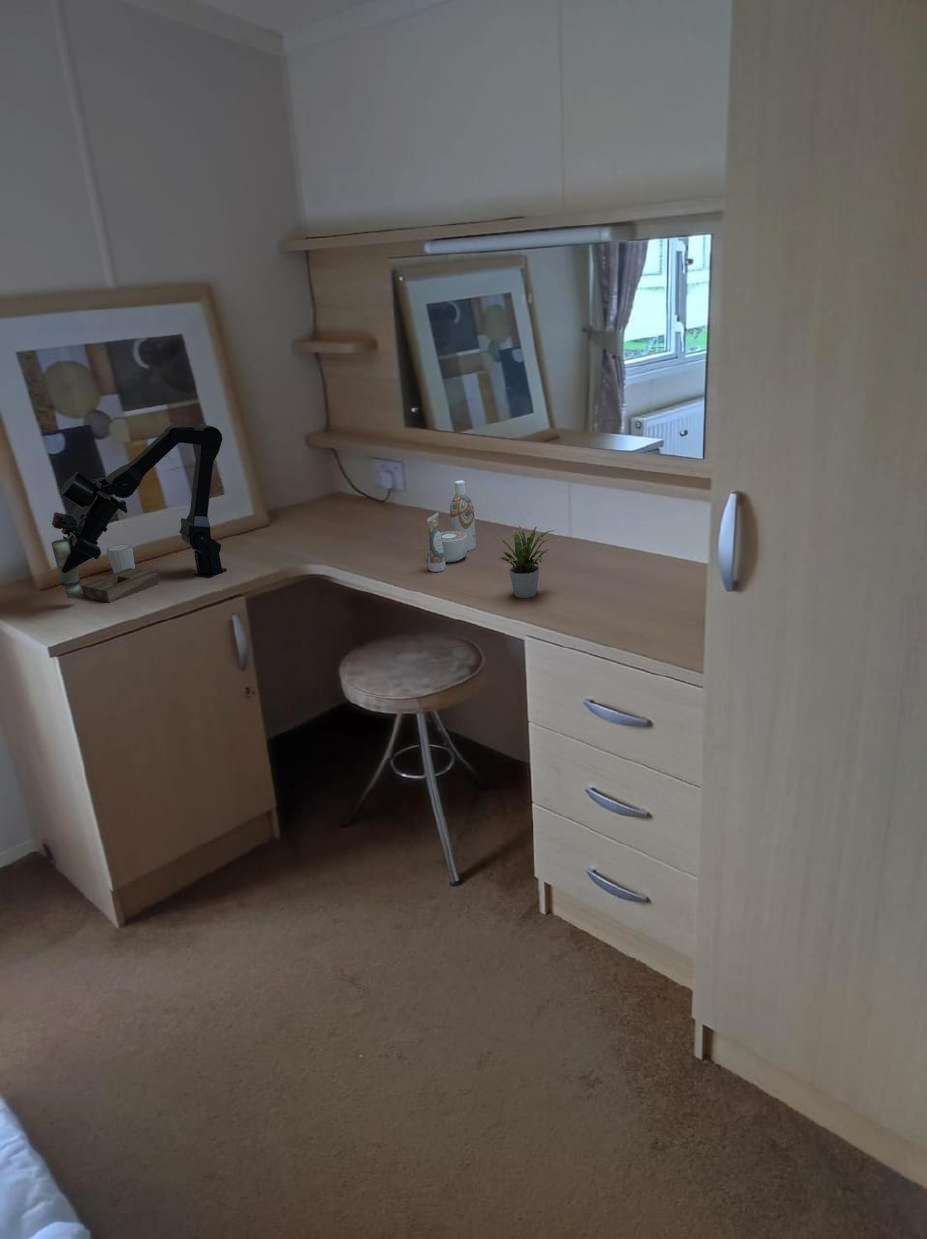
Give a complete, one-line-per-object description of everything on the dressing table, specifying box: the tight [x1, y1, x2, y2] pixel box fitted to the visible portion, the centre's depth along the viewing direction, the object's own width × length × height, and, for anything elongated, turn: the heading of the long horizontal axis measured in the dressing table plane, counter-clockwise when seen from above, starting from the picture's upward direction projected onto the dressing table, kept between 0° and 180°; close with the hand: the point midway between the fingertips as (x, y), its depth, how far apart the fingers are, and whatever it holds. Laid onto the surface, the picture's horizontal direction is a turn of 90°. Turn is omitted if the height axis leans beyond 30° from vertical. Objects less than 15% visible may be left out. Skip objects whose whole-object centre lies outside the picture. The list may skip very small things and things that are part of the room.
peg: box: [50, 539, 82, 599], centre depth 218 cm, size 4×4×14 cm
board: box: [80, 568, 159, 603], centre depth 230 cm, size 11×15×3 cm
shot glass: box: [105, 543, 136, 574], centre depth 244 cm, size 7×7×7 cm
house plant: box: [493, 525, 555, 599], centre depth 204 cm, size 14×14×16 cm
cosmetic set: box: [426, 480, 477, 573], centre depth 232 cm, size 25×9×19 cm, turn 157°
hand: (61, 570), depth 217 cm, fingers closed on peg, 4 cm apart
